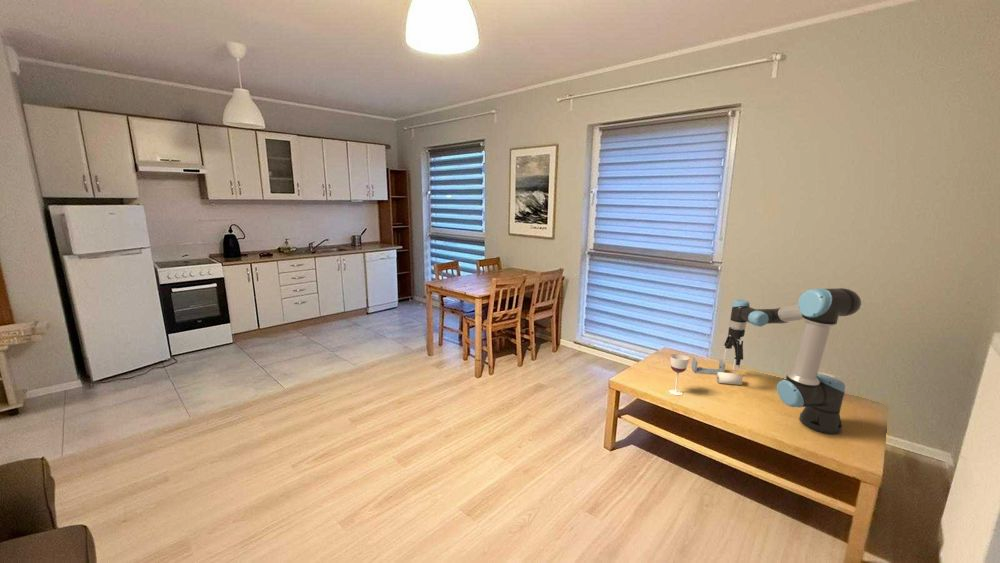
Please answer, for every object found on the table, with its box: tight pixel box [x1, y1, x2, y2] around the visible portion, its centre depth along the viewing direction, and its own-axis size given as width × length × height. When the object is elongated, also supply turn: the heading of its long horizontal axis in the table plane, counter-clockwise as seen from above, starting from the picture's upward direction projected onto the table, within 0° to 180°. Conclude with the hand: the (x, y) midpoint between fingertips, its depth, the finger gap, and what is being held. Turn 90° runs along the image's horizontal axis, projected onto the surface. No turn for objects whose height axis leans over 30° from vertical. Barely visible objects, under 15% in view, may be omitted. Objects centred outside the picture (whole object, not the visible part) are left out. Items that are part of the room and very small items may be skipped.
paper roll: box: [716, 371, 743, 386], centre depth 220 cm, size 11×6×6 cm, turn 79°
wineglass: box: [668, 353, 690, 396], centre depth 206 cm, size 8×9×20 cm
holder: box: [691, 357, 726, 376], centre depth 234 cm, size 6×16×7 cm, turn 79°
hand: (731, 364), depth 218 cm, fingers open, 13 cm apart
